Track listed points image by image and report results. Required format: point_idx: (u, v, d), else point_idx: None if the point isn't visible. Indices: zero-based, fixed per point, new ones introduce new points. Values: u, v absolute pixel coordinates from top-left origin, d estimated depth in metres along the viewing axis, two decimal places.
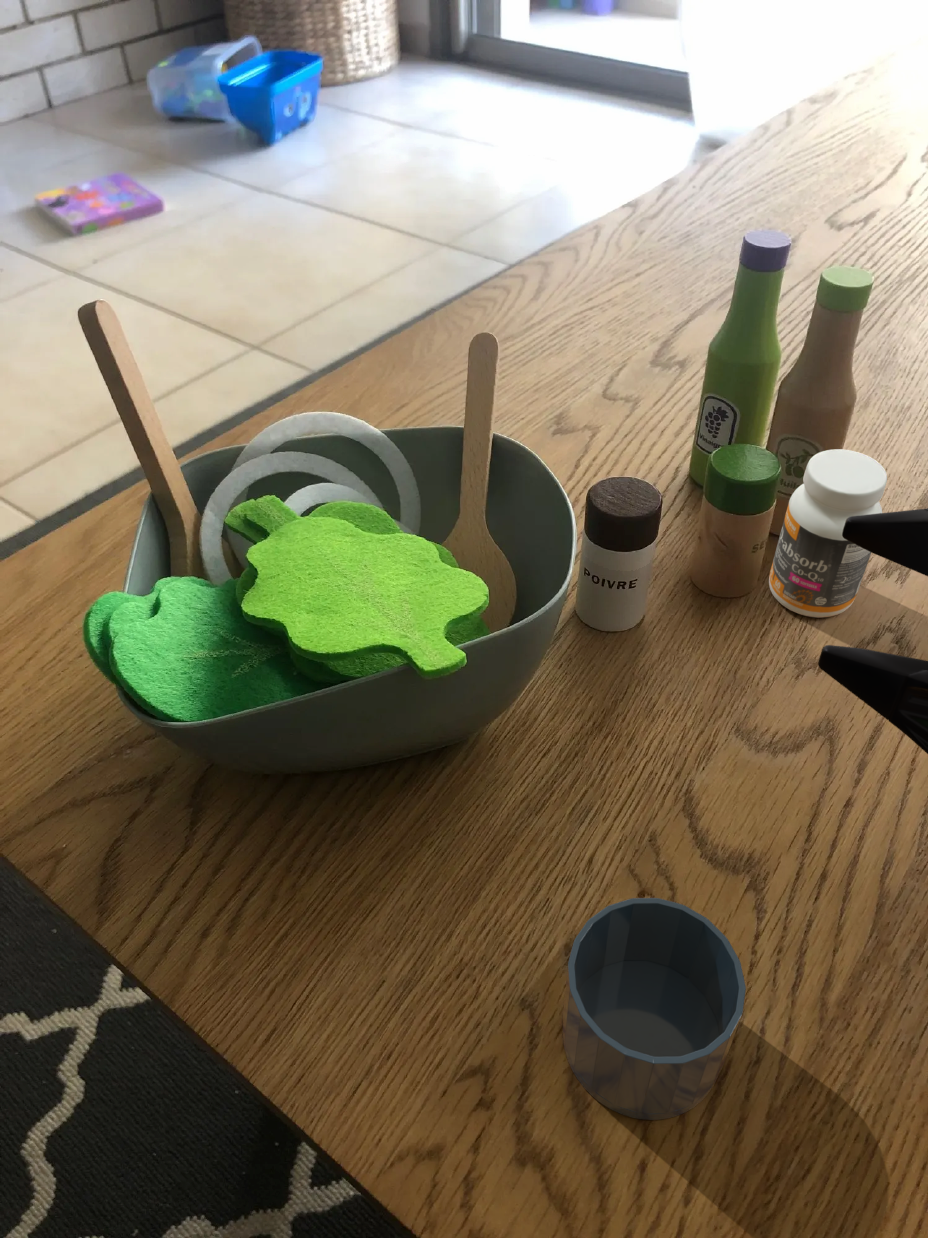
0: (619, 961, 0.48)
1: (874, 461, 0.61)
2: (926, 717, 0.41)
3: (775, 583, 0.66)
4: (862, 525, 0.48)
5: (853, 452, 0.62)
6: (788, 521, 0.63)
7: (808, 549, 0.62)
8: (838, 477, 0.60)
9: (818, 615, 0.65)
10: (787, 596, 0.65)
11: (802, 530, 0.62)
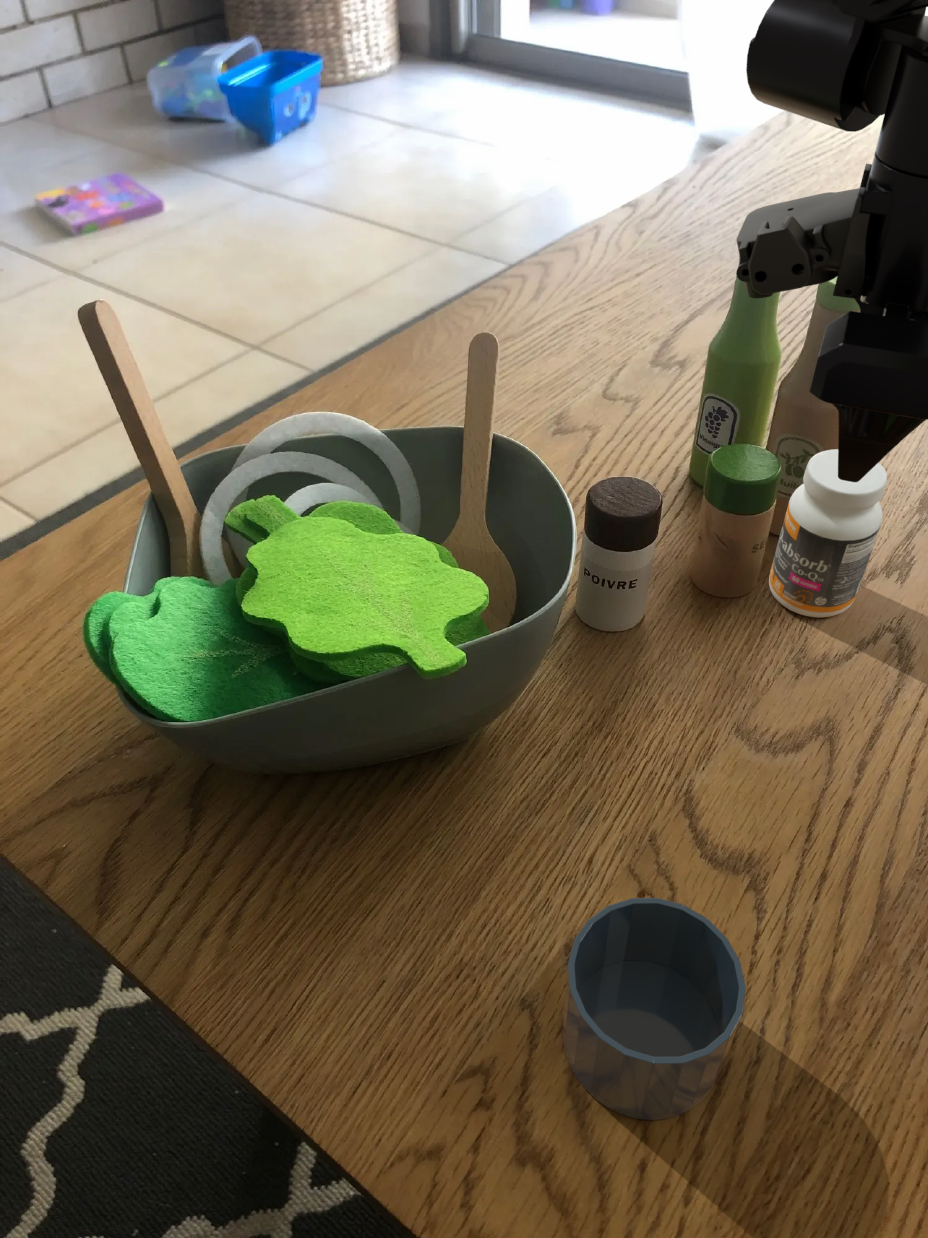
0: (619, 961, 0.48)
1: None
2: (884, 423, 0.51)
3: (775, 583, 0.66)
4: None
5: None
6: (788, 521, 0.63)
7: (808, 549, 0.62)
8: None
9: (818, 615, 0.65)
10: (787, 596, 0.65)
11: (802, 530, 0.62)
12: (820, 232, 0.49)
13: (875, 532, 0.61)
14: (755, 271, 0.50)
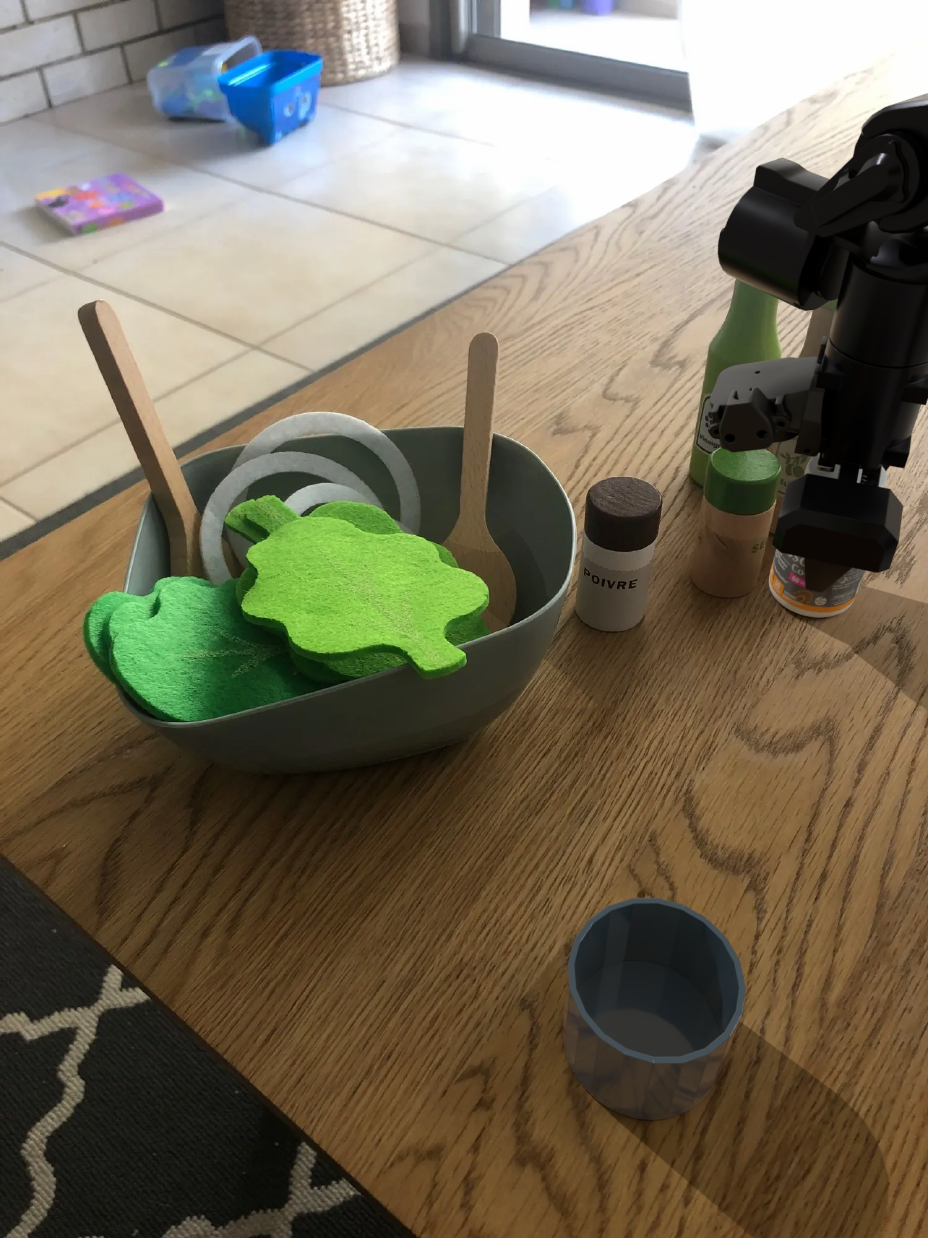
0: (619, 961, 0.48)
1: None
2: None
3: (775, 583, 0.66)
4: None
5: None
6: None
7: None
8: None
9: (818, 615, 0.65)
10: (787, 596, 0.65)
11: None
12: (781, 402, 0.56)
13: None
14: (725, 434, 0.57)
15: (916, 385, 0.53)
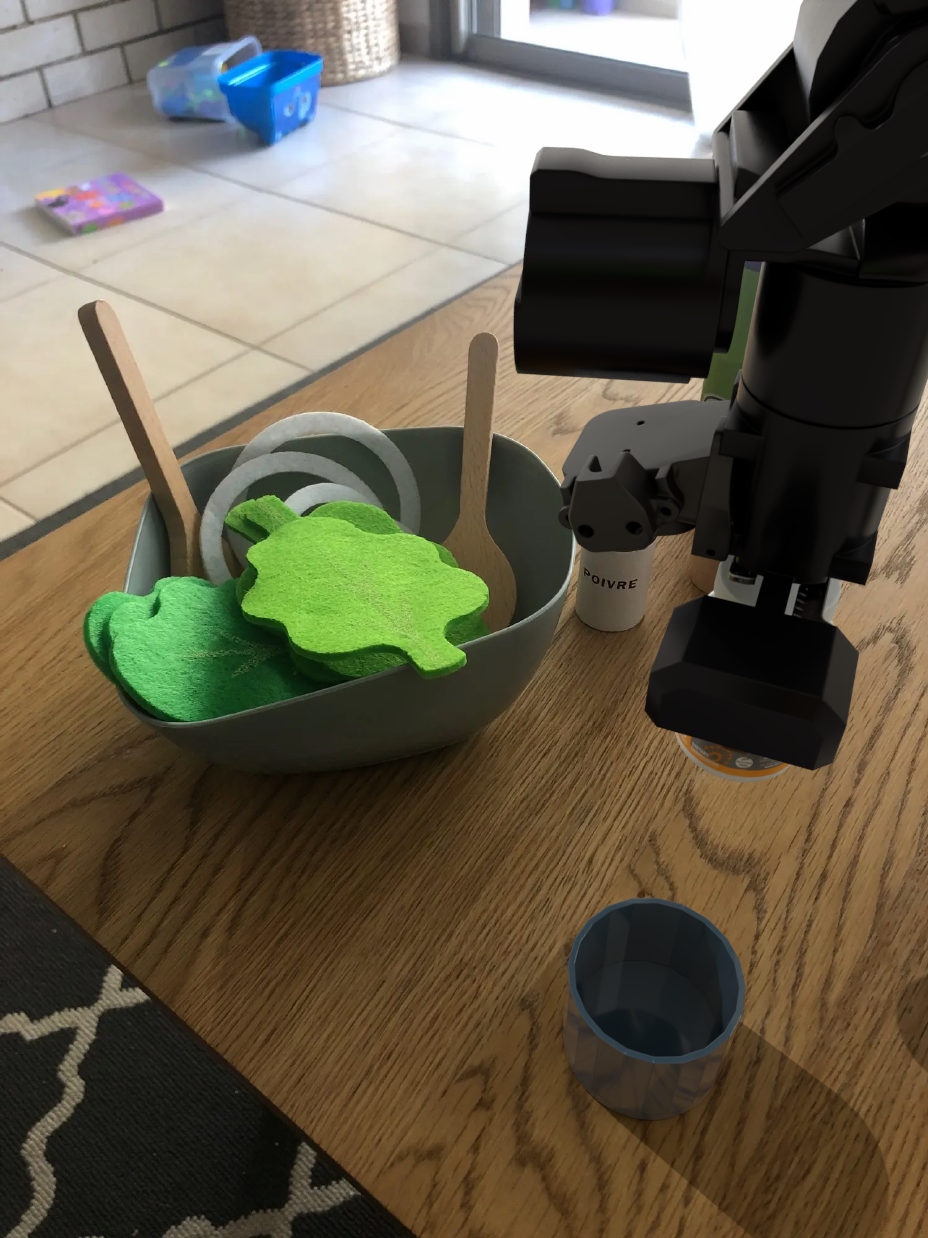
0: (619, 961, 0.48)
1: None
2: None
3: None
4: None
5: None
6: None
7: None
8: None
9: (742, 780, 0.43)
10: (696, 751, 0.44)
11: None
12: (665, 478, 0.34)
13: None
14: (578, 525, 0.36)
15: (881, 457, 0.32)
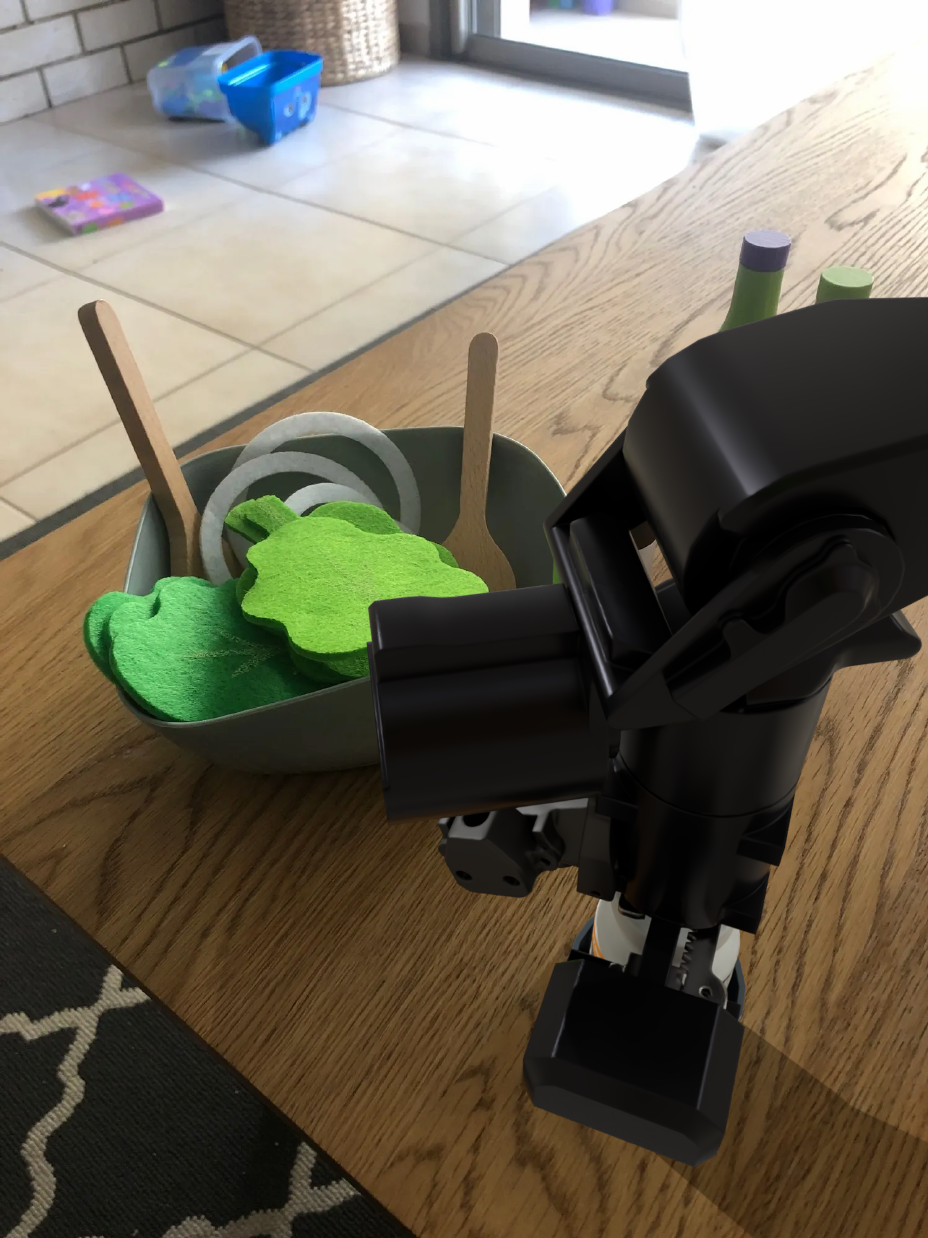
0: None
1: None
2: None
3: None
4: None
5: None
6: (593, 941, 0.40)
7: None
8: None
9: None
10: None
11: None
12: (542, 831, 0.33)
13: (725, 979, 0.38)
14: (455, 870, 0.34)
15: (760, 837, 0.30)
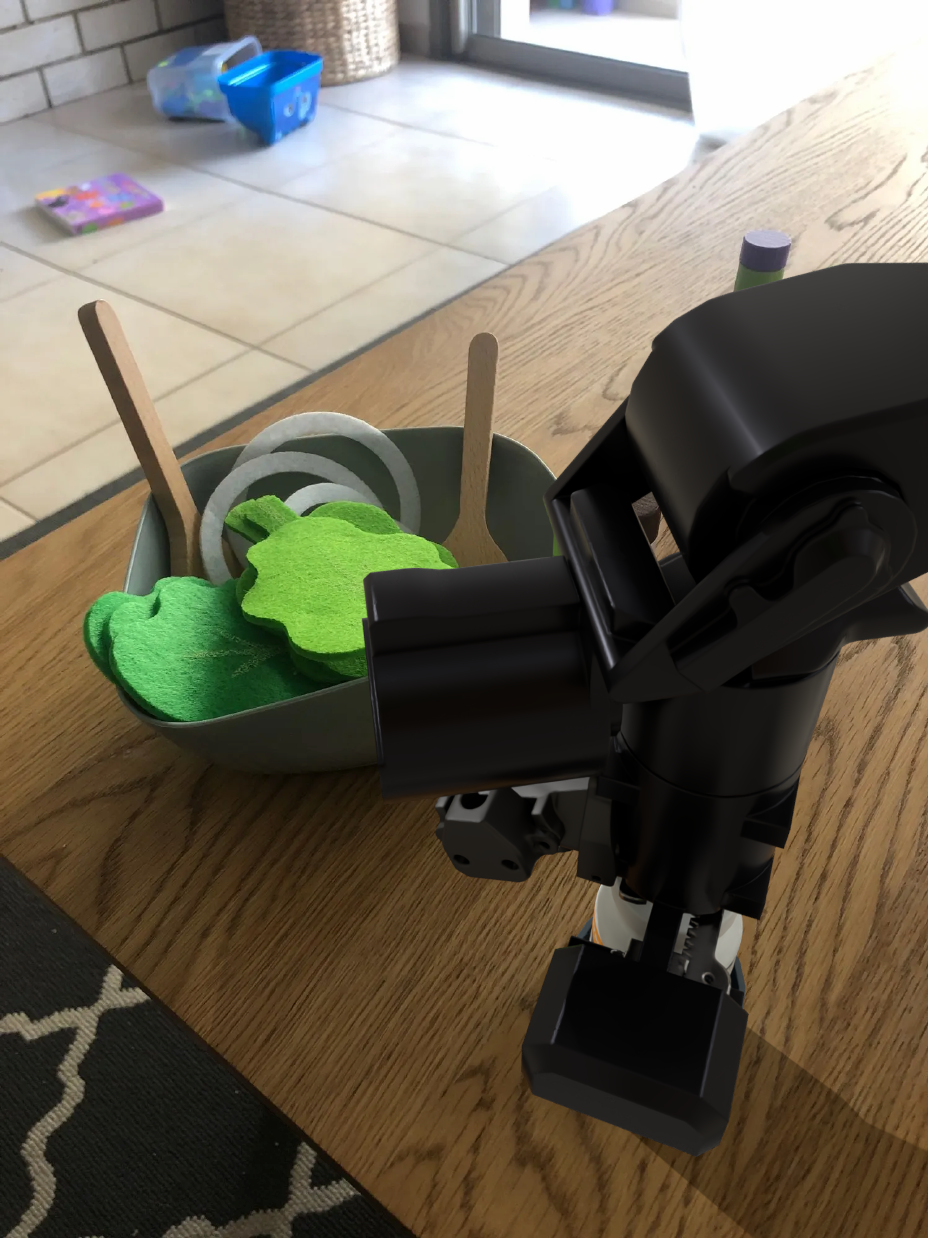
0: None
1: None
2: None
3: None
4: None
5: None
6: (593, 929, 0.39)
7: None
8: None
9: None
10: None
11: None
12: (541, 813, 0.32)
13: (728, 967, 0.37)
14: (452, 854, 0.33)
15: (764, 818, 0.29)
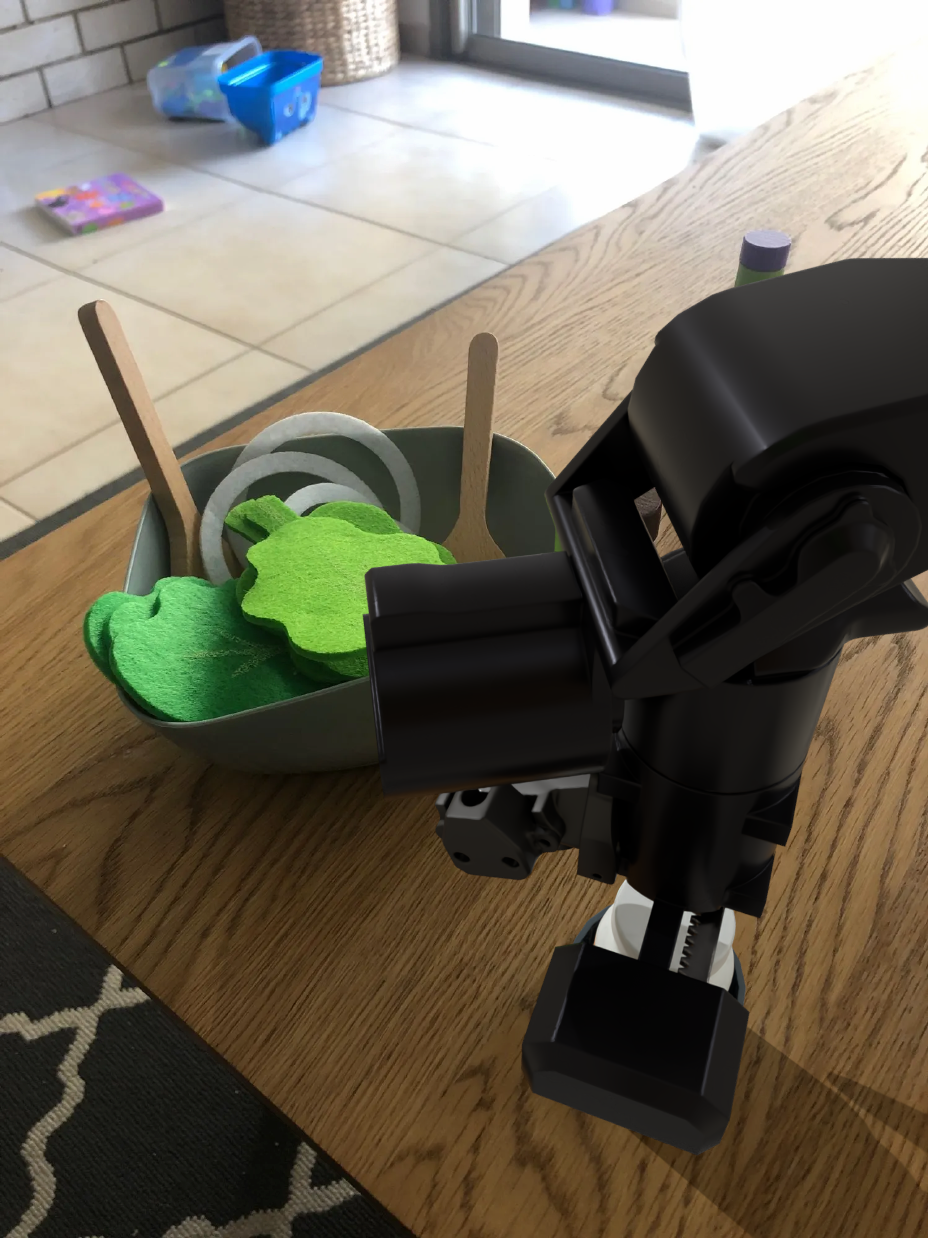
0: None
1: None
2: None
3: None
4: None
5: None
6: None
7: None
8: None
9: None
10: None
11: None
12: (542, 811, 0.32)
13: None
14: (452, 851, 0.33)
15: (766, 816, 0.29)
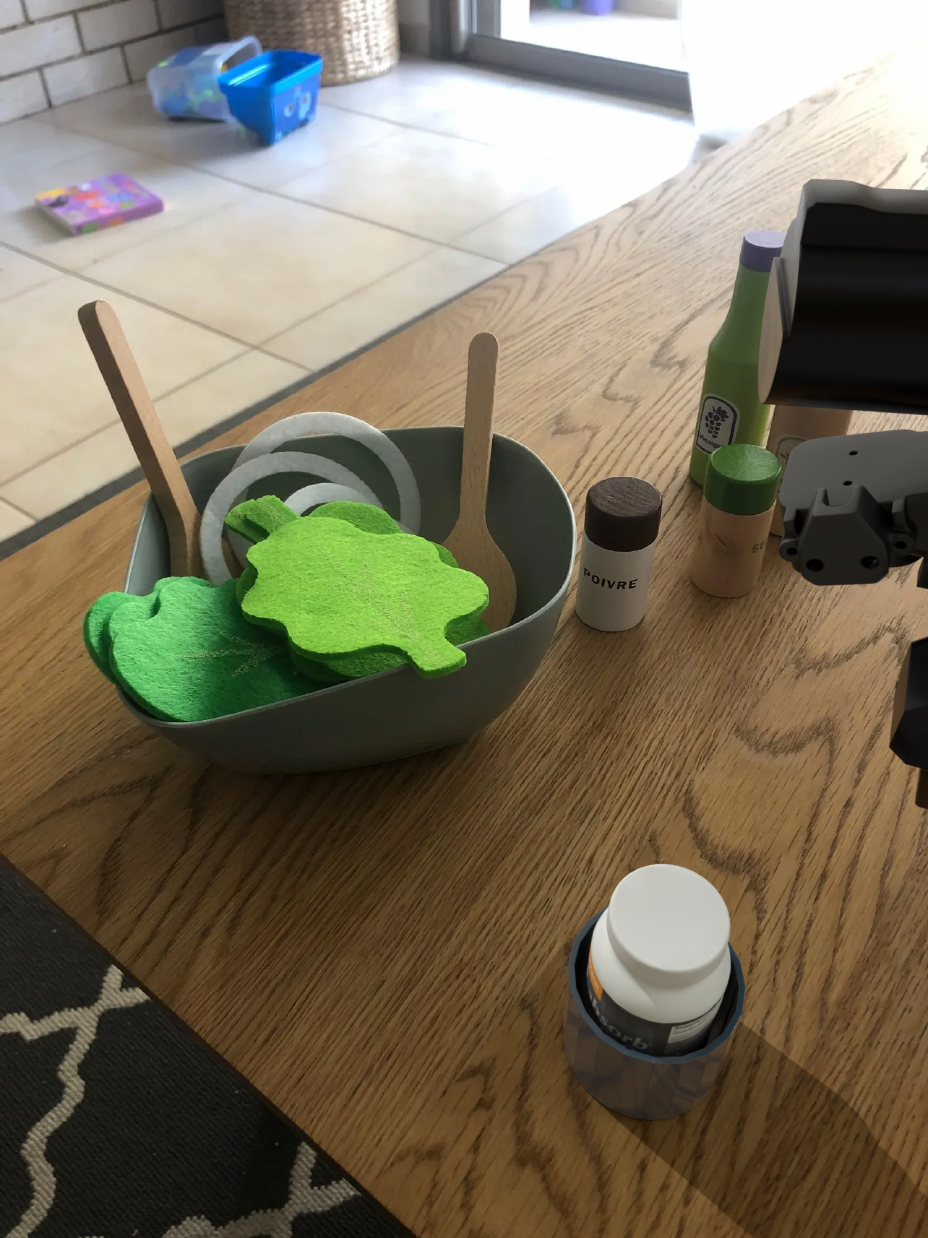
0: None
1: (714, 893, 0.39)
2: None
3: None
4: None
5: (684, 872, 0.40)
6: (590, 966, 0.41)
7: (617, 1021, 0.40)
8: (653, 932, 0.38)
9: None
10: None
11: (606, 996, 0.40)
12: (903, 511, 0.34)
13: (717, 1002, 0.40)
14: (807, 559, 0.35)
15: None
